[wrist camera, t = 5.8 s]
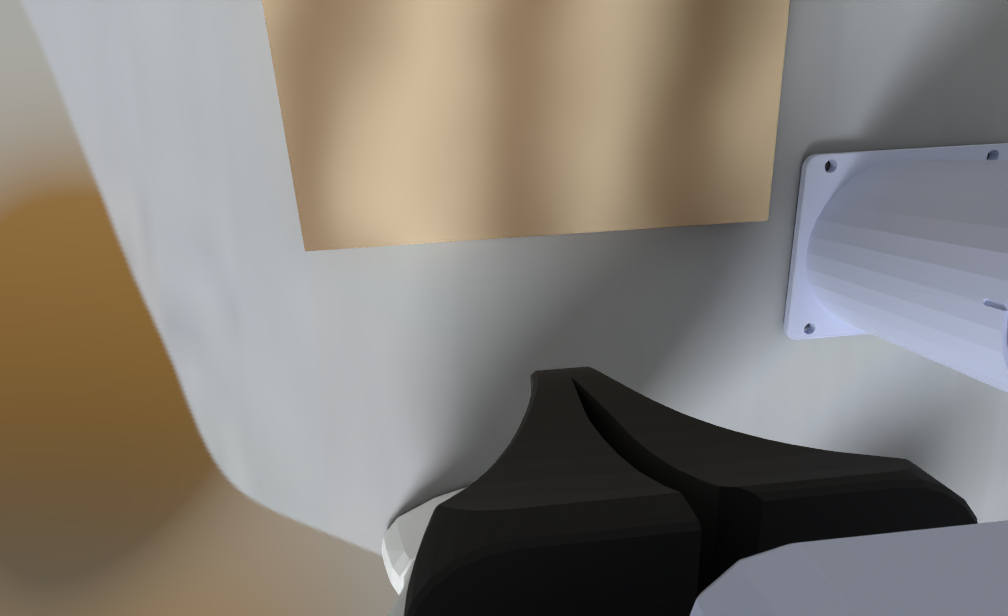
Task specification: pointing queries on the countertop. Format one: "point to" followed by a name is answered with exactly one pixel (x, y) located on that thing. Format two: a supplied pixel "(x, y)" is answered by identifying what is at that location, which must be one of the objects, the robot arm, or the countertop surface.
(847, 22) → the countertop surface
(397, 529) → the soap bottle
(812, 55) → the countertop surface
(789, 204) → the countertop surface
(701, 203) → the oak plank
